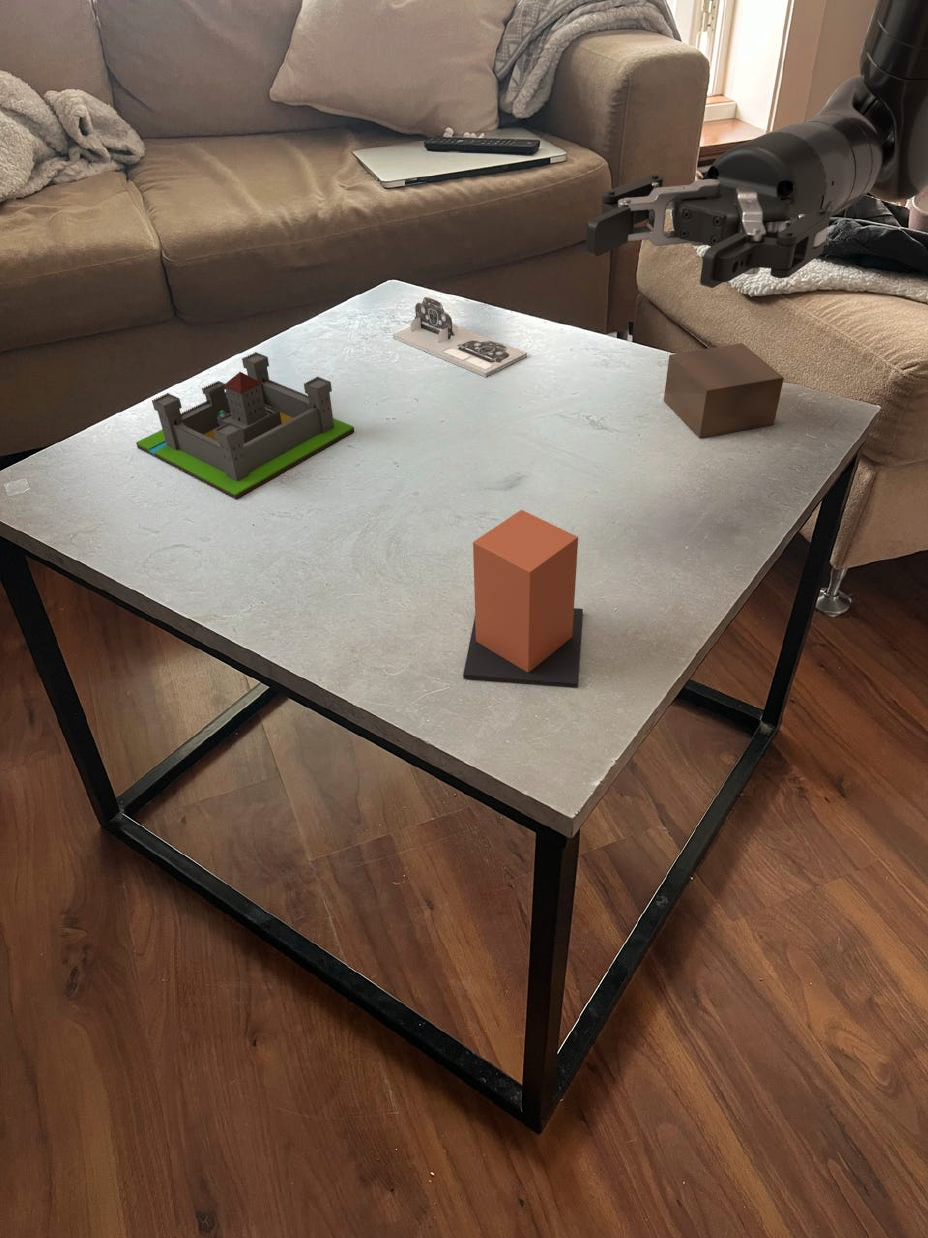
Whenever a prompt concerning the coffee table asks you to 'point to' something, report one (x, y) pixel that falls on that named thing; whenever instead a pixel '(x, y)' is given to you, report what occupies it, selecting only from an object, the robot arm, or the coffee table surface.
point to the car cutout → (456, 341)
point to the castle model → (245, 429)
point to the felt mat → (551, 671)
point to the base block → (722, 389)
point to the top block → (524, 589)
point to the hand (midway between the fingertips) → (646, 254)
